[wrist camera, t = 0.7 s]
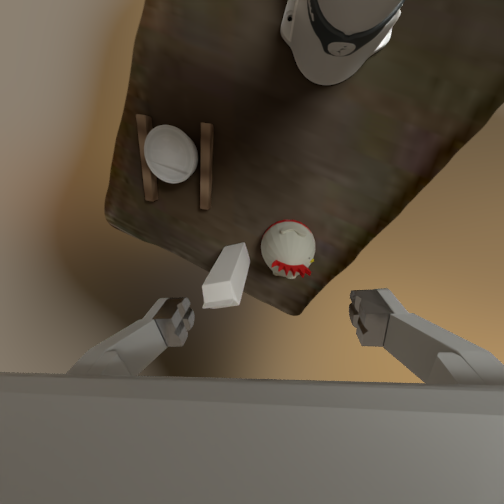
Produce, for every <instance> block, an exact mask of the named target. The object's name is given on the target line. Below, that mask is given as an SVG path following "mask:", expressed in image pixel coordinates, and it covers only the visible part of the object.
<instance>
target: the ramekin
mask: <svg viewBox="0 0 504 504" xmlns="http://www.w3.org/2000/svg"><path fill="white" fill-rule="evenodd" d="M144 156H145V159H146V162H147V164H148V166H149V168H150V170H151V171H152V172H153V174H154V175H155V176H157V177H158V178H159V179H161V180H162V181H164V182H167V183H172V184H176V183H180V182H183V181H185V180H187V179H188V178H189V177H190V176H191V175H192V174H193V173H194V171H195V170H196V168H197V165H198V151H197V148H196V146H195V144H194V142H193V141H192V140H191V139H190V138H189V137H188V136H187V135H186V134H185V133H184V132H183V131H182V130H180V129H179V128H177V127H174V126H171V125H160V126H157V127H155V128H153V129H152V130H151V131H150V132H149V134H148V135H147V137H146V140H145V144H144Z"/></svg>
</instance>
